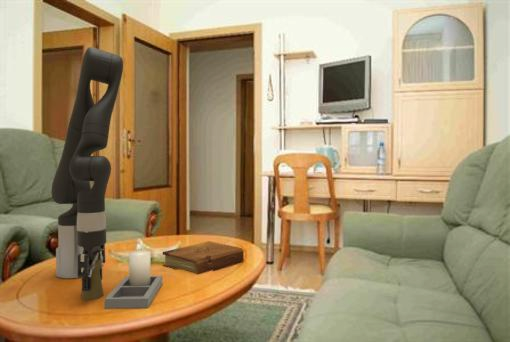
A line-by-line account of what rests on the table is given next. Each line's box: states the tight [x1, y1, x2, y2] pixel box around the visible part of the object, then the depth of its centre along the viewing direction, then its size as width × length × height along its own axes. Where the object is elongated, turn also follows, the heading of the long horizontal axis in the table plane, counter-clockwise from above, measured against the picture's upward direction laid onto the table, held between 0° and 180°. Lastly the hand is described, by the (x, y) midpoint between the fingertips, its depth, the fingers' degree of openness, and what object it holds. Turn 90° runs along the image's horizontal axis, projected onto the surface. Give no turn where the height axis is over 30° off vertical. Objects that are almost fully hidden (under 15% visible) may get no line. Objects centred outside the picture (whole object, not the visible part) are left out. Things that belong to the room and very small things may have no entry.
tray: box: [104, 275, 163, 310], centre depth 111 cm, size 11×19×3 cm, turn 2°
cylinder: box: [128, 249, 152, 286], centre depth 115 cm, size 6×6×11 cm
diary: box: [162, 240, 245, 275], centre depth 145 cm, size 23×19×6 cm
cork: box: [80, 259, 104, 301], centre depth 110 cm, size 6×6×11 cm
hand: (92, 285), depth 110 cm, fingers open, 8 cm apart
